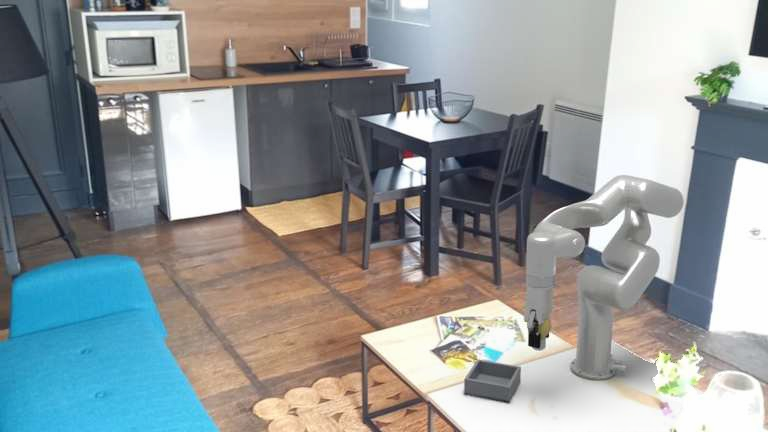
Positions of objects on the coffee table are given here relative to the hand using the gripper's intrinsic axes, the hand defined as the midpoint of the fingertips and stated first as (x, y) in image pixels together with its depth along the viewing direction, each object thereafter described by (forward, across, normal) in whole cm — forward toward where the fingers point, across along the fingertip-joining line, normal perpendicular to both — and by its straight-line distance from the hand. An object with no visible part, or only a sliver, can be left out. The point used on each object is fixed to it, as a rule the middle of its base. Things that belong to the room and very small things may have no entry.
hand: (538, 341), depth 194 cm
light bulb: (+2, 0, 0) cm, 2 cm away
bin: (+16, +3, -12) cm, 20 cm away
